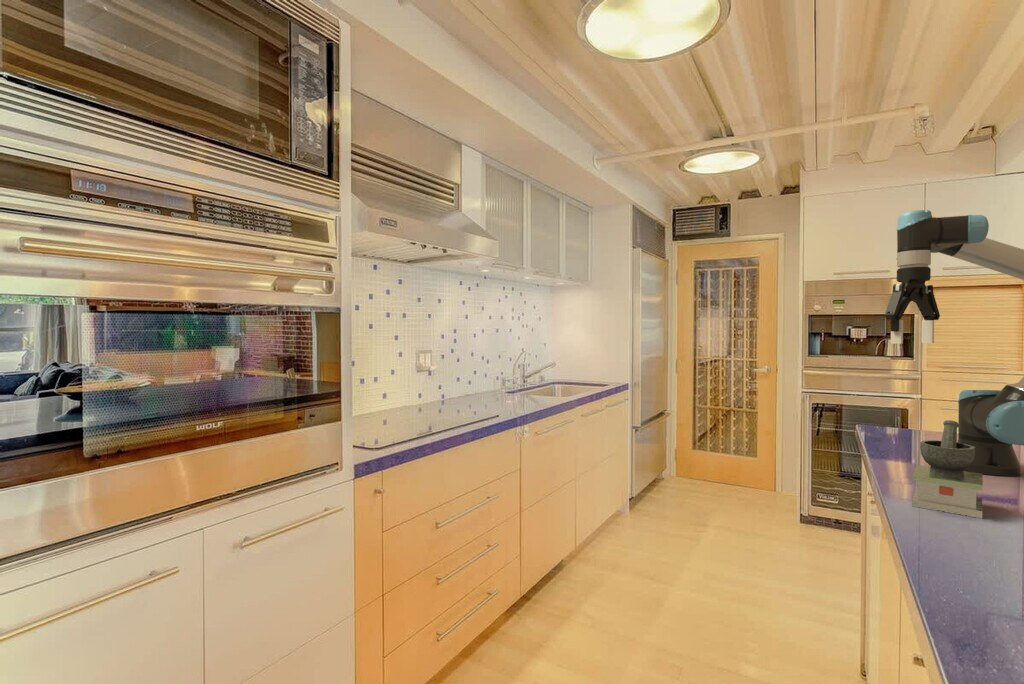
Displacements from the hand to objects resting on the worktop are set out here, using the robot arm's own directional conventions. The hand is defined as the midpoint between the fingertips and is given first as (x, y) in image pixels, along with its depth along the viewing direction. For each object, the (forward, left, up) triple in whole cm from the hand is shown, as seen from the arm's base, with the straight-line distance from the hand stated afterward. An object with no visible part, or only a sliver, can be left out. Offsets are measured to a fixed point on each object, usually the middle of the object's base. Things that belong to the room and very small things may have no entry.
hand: (912, 343), depth 146 cm
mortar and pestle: (+21, +20, -30) cm, 41 cm away
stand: (+21, +20, -37) cm, 47 cm away
